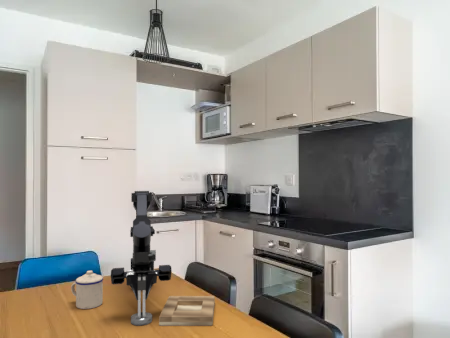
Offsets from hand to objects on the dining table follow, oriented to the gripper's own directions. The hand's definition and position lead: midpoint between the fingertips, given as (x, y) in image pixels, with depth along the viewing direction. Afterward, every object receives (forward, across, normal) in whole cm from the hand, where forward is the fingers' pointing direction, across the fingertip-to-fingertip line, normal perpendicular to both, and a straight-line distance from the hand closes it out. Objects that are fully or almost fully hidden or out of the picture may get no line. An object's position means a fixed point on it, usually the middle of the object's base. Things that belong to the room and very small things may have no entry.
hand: (141, 299), depth 105 cm
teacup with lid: (-9, -19, +20) cm, 29 cm away
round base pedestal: (+4, 0, +6) cm, 7 cm away
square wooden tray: (+2, +15, +8) cm, 17 cm away
